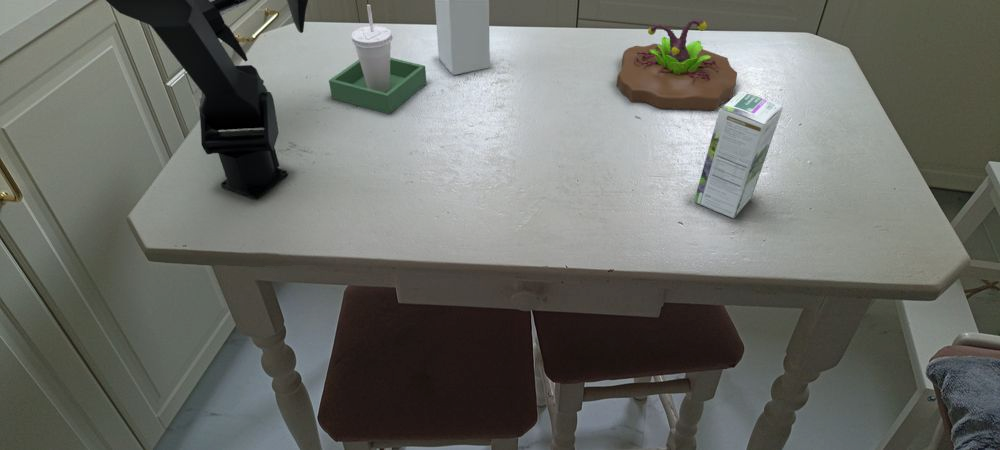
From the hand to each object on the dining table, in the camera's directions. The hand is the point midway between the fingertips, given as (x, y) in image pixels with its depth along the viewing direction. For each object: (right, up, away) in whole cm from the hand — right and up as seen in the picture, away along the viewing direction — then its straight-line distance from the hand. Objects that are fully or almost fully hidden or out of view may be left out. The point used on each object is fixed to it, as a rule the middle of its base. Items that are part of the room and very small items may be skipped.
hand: (273, 45), depth 94 cm
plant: (+64, -2, +16) cm, 66 cm away
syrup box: (+63, -23, -9) cm, 68 cm away
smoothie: (+13, -4, +13) cm, 19 cm away
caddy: (+13, -4, +14) cm, 19 cm away
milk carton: (+27, +3, +21) cm, 34 cm away
